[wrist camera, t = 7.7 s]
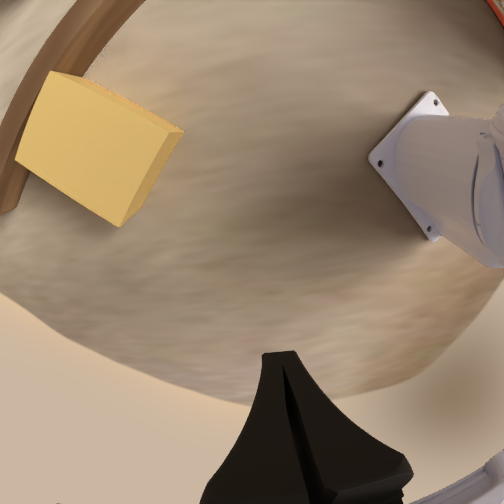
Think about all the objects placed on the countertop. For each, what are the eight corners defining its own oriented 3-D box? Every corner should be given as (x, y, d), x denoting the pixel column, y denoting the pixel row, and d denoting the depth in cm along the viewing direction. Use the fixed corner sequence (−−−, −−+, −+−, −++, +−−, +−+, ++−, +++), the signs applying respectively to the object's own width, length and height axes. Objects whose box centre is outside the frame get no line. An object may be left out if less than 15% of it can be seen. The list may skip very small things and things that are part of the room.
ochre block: (185, 131, 18) (169, 132, 13) (142, 206, 19) (119, 227, 15) (84, 77, 15) (50, 70, 11) (51, 150, 17) (14, 159, 13)
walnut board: (195, -43, 12) (187, -72, 8) (16, 206, 18) (-13, 222, 15) (175, -52, 11) (164, -79, 7) (3, 193, 18) (-26, 207, 14)
